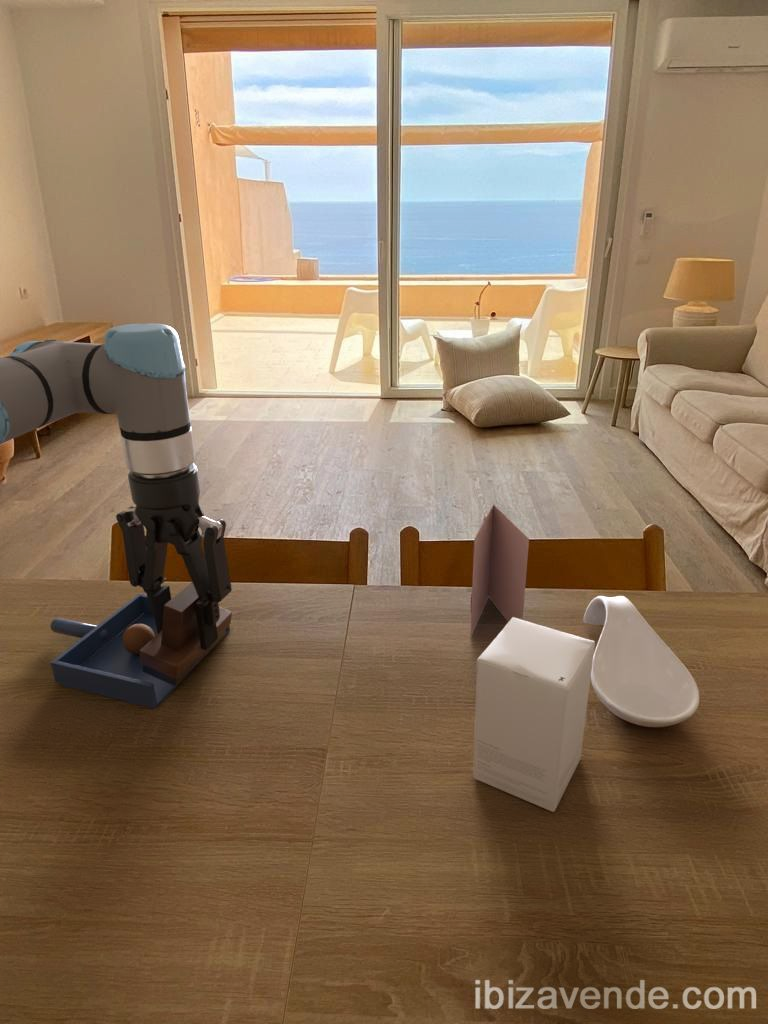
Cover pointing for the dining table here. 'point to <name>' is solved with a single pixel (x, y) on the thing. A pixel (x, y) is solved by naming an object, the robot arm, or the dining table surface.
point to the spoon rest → (637, 668)
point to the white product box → (531, 711)
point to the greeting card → (499, 567)
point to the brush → (179, 639)
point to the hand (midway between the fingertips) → (188, 638)
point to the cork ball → (137, 638)
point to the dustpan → (110, 658)
